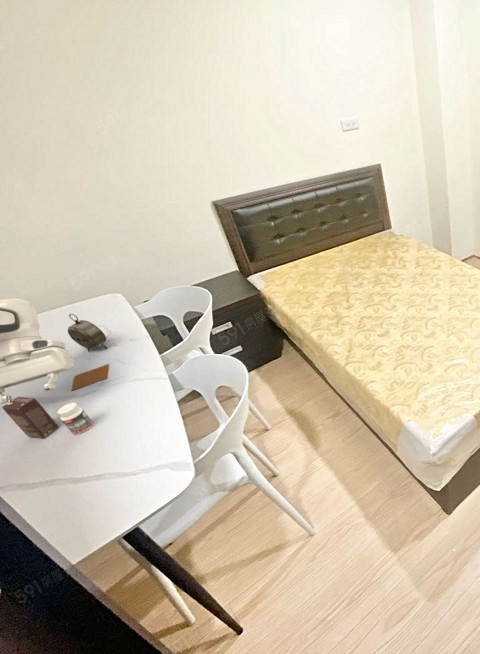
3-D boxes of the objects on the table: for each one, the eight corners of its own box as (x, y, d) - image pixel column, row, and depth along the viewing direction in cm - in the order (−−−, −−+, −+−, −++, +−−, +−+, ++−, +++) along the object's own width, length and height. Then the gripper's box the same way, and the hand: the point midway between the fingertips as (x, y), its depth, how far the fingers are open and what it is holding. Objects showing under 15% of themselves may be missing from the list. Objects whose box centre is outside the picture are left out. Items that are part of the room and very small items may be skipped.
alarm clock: (113, 346, 151) (90, 311, 143) (98, 355, 146) (73, 319, 138) (92, 342, 153) (68, 308, 145) (77, 351, 149) (51, 316, 141)
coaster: (72, 390, 131) (71, 390, 131) (75, 376, 137) (74, 375, 137) (107, 378, 135) (106, 377, 135) (108, 364, 142) (108, 363, 142)
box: (61, 426, 118) (35, 397, 112) (43, 439, 114) (16, 410, 108) (44, 424, 119) (18, 395, 113) (27, 437, 115) (-1, 408, 109)
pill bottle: (72, 437, 114) (54, 417, 110) (72, 427, 117) (55, 408, 113) (93, 428, 117) (77, 408, 113) (93, 418, 120) (77, 399, 116)
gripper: (-39, 362, 110) (-33, 410, 108) (58, 337, 119) (67, 381, 116) (-20, 365, 116) (-13, 411, 113) (72, 341, 124) (80, 383, 122)
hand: (28, 396), depth 115 cm, fingers open, 8 cm apart
